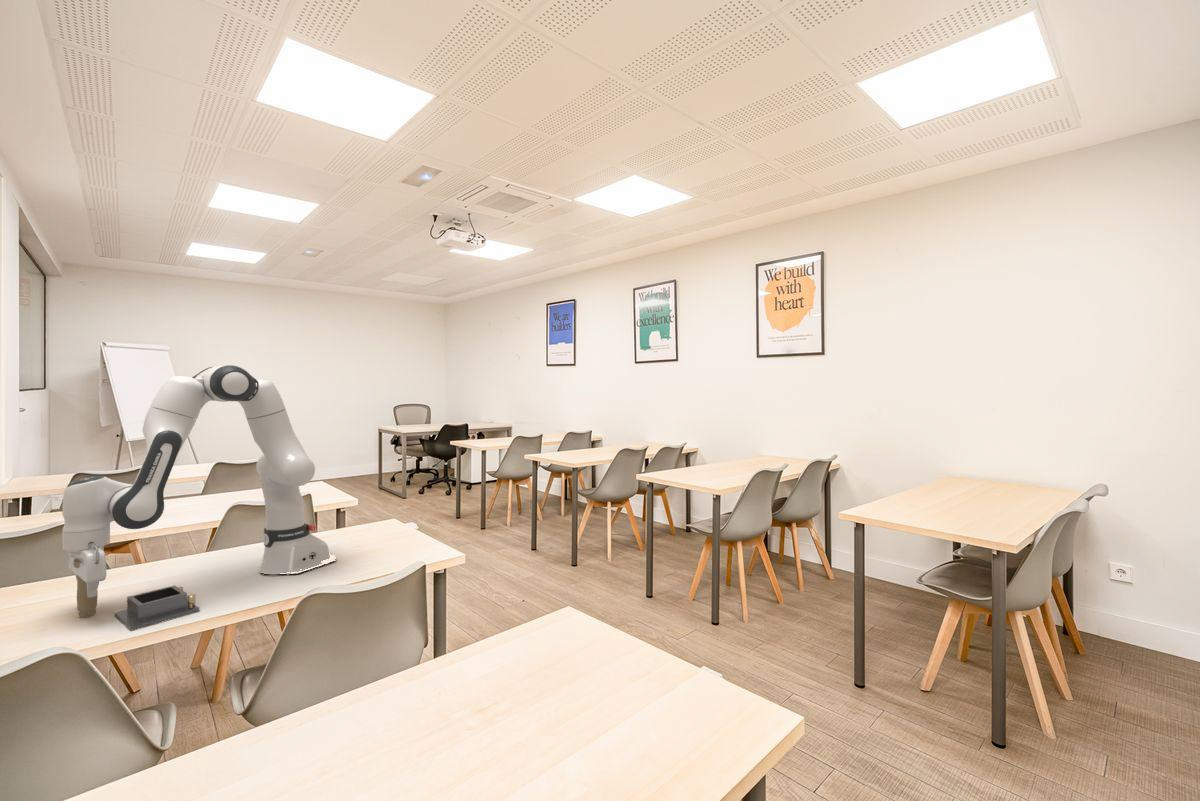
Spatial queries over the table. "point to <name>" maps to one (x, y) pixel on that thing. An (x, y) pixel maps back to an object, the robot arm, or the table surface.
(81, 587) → the handle
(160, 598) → the clip socket
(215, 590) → the table surface
